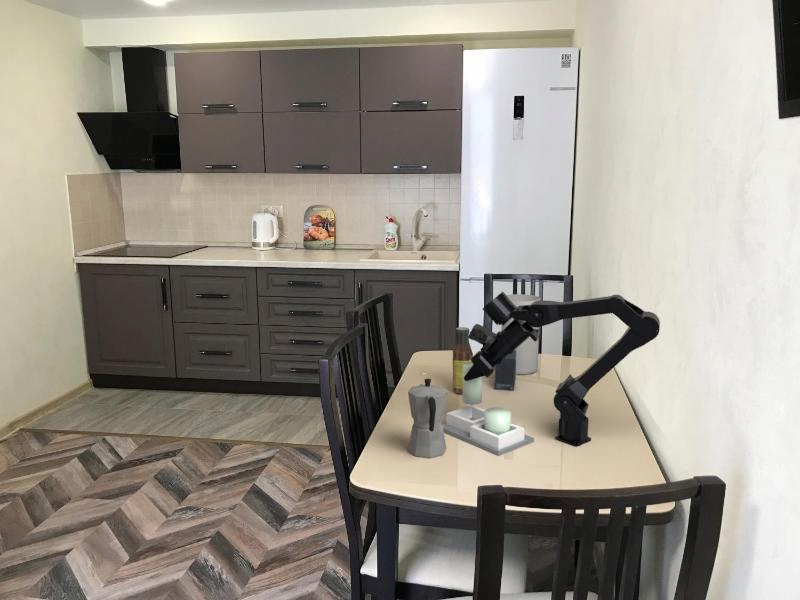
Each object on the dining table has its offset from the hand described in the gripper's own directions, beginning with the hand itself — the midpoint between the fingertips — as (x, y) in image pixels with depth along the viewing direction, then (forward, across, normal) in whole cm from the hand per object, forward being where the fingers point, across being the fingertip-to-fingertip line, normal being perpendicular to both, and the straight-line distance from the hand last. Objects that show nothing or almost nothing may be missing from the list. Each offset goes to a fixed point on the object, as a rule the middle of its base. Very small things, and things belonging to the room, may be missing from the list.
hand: (467, 376), depth 170 cm
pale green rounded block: (+4, 0, +6) cm, 7 cm away
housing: (+5, +6, +14) cm, 16 cm away
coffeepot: (+13, +20, +6) cm, 25 cm away
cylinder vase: (+7, -55, +12) cm, 56 cm away
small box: (+8, -37, +12) cm, 39 cm away
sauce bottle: (+15, -26, +4) cm, 30 cm away
